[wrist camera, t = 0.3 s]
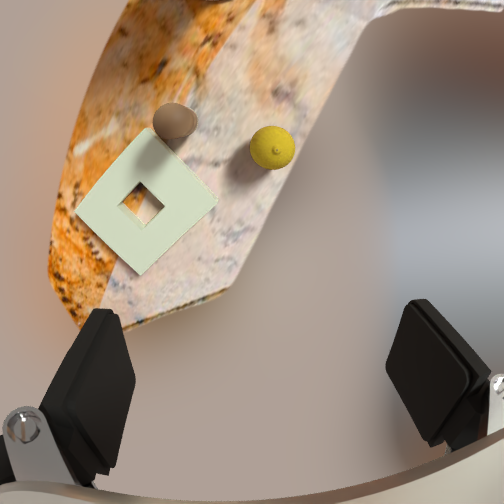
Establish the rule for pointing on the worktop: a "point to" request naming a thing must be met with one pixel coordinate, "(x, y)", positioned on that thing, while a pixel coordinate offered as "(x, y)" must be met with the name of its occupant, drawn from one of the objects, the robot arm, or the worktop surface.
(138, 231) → the board
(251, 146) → the lemon
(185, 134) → the peg
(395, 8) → the worktop surface
